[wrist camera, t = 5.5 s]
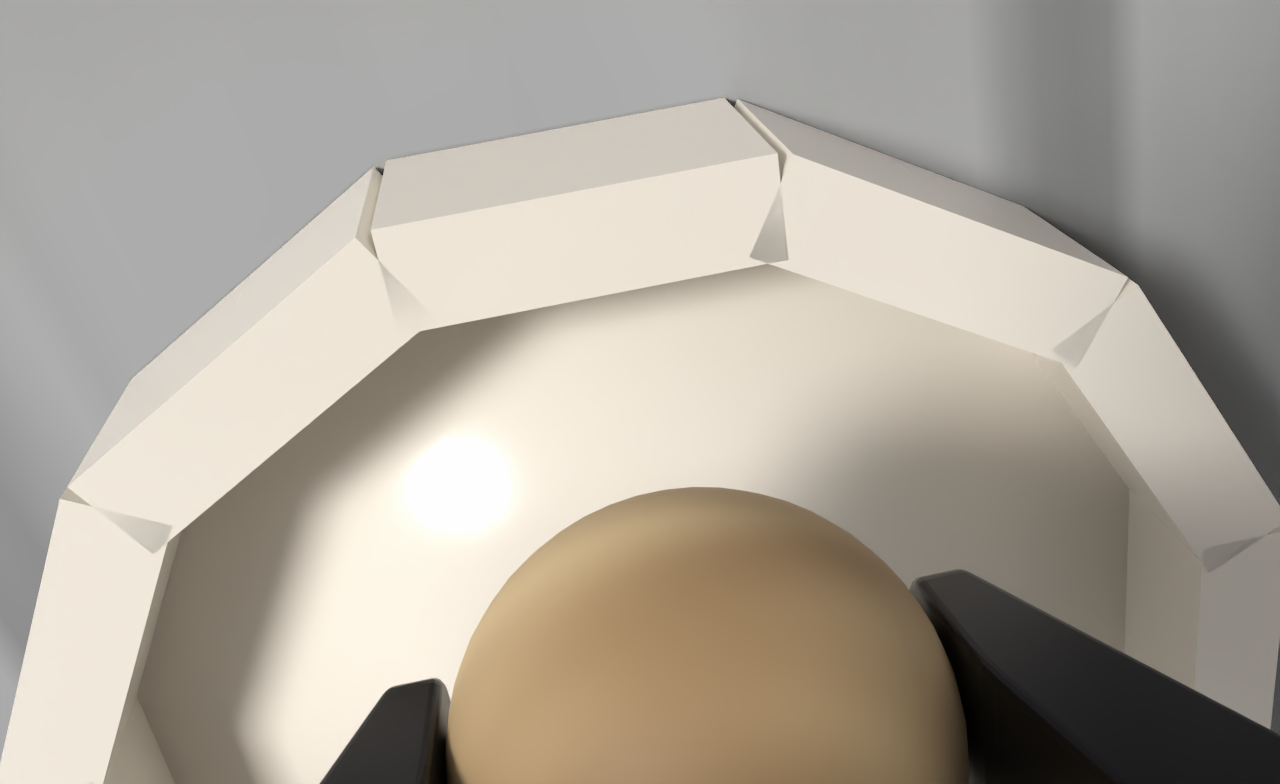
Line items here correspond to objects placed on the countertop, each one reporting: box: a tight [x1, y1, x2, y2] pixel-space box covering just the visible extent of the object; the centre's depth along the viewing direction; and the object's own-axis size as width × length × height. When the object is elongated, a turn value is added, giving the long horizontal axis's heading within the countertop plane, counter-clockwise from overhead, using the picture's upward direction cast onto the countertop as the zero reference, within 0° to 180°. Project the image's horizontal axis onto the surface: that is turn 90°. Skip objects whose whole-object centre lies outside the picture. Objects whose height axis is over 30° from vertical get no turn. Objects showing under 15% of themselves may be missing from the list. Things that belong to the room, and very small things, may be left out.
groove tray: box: [0, 98, 1280, 784], centre depth 15 cm, size 14×14×2 cm
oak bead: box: [445, 487, 969, 784], centre depth 8 cm, size 4×4×4 cm
